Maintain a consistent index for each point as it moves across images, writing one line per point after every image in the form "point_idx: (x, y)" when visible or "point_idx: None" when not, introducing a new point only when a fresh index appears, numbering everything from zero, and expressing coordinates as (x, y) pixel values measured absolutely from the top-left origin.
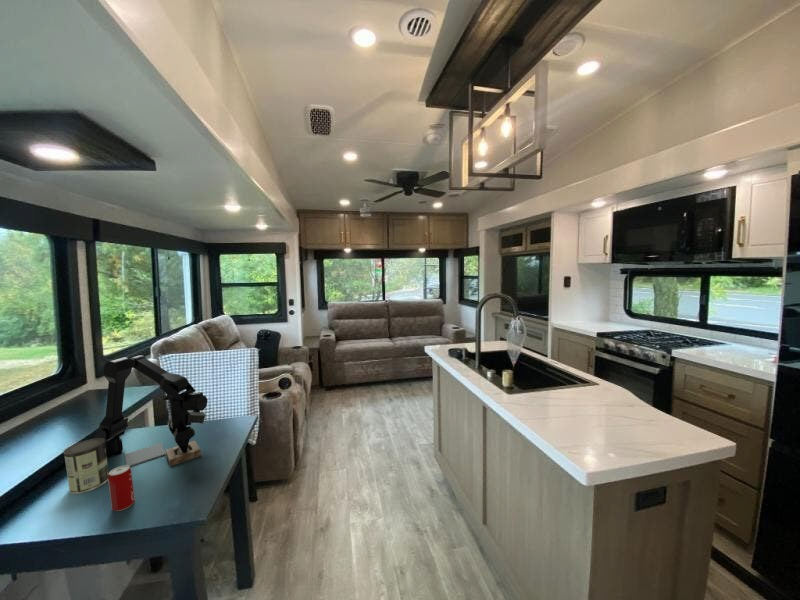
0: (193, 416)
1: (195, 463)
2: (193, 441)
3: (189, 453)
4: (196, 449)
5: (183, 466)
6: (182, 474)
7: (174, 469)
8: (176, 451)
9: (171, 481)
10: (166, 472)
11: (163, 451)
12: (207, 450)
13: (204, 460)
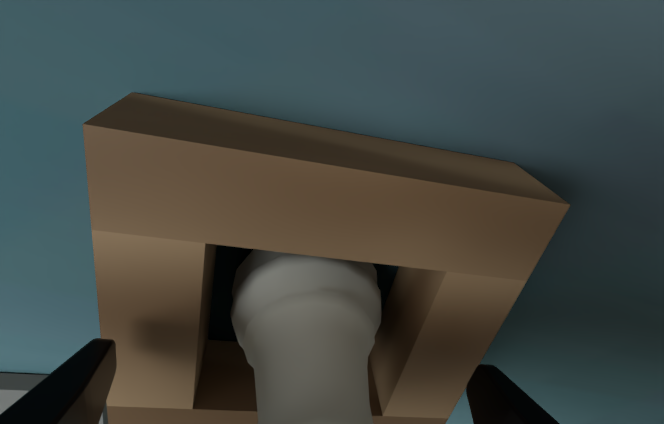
0: None
1: (600, 261)
2: (121, 163)
3: (497, 320)
4: (504, 240)
5: (524, 335)
6: (629, 366)
7: None
8: (200, 352)
9: (621, 419)
10: (469, 419)
11: (11, 398)
12: (473, 38)
13: (658, 185)
